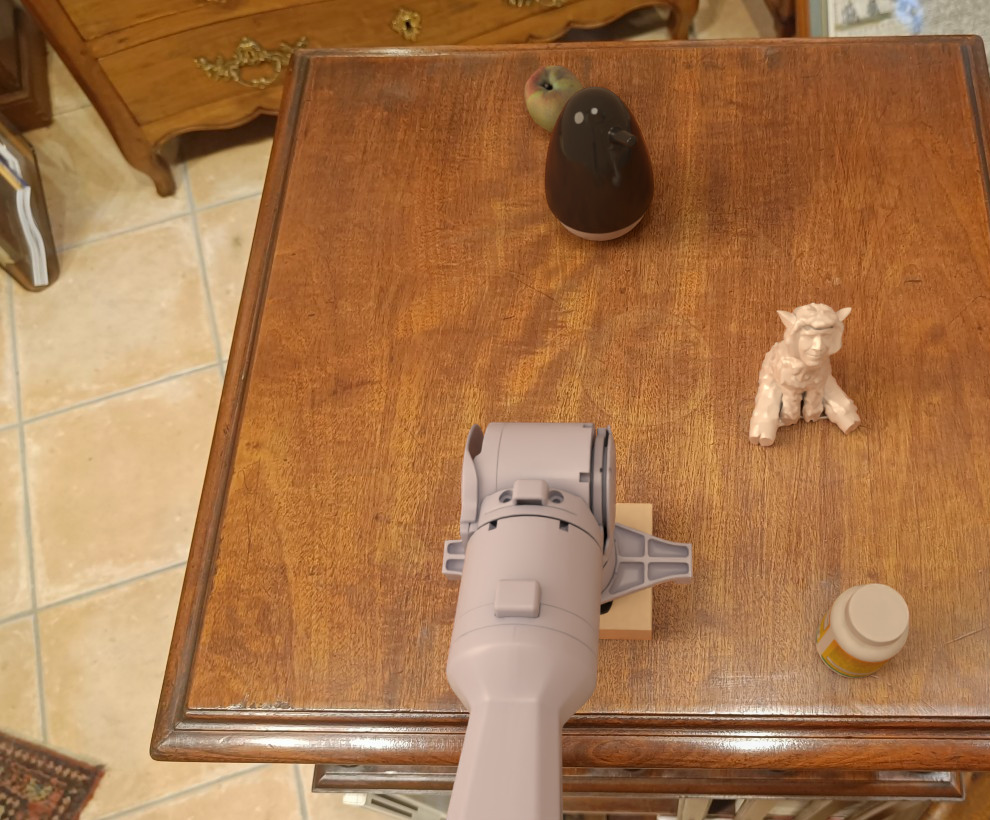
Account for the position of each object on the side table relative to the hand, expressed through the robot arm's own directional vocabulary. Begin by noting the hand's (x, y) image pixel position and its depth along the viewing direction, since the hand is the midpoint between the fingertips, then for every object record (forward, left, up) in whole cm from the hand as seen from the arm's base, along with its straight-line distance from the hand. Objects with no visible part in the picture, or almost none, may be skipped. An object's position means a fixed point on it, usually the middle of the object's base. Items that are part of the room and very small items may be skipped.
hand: (578, 590), depth 62 cm
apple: (+53, +5, -11) cm, 54 cm away
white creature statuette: (+20, -17, -11) cm, 28 cm away
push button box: (+4, 0, -11) cm, 11 cm away
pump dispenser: (+40, 0, -11) cm, 42 cm away
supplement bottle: (-1, -20, -11) cm, 23 cm away
